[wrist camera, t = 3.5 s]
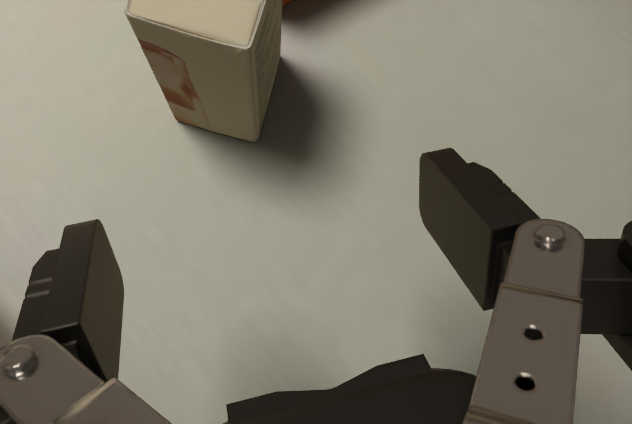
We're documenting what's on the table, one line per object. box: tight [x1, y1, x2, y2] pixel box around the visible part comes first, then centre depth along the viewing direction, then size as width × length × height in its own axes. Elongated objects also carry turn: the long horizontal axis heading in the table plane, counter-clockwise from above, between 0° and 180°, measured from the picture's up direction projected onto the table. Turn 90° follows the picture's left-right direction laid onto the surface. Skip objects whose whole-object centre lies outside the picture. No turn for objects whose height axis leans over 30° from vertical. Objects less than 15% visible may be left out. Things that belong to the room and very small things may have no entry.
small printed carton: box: [125, 0, 282, 142], centre depth 23 cm, size 5×4×10 cm
